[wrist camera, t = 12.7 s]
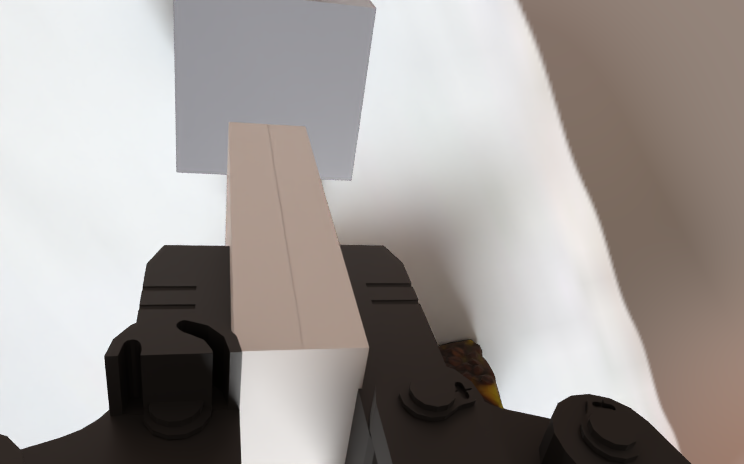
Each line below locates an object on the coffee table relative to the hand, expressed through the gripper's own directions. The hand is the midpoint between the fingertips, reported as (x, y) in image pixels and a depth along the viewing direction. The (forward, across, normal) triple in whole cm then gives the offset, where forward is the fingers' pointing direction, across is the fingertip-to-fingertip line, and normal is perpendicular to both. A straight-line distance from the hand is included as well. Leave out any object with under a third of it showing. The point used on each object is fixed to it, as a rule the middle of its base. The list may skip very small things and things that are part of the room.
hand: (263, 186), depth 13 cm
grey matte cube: (+12, +1, 0) cm, 12 cm away
